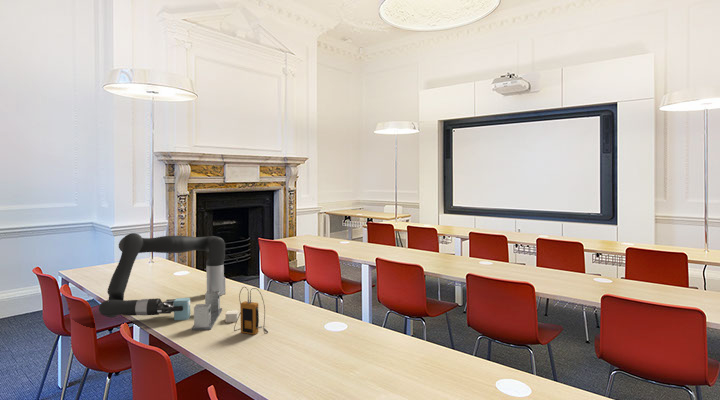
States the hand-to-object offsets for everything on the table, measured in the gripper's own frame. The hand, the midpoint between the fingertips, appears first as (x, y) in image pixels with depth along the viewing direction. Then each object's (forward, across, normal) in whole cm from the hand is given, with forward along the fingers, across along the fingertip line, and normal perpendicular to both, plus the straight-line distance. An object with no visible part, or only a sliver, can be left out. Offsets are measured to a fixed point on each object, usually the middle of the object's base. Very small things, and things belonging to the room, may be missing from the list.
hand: (185, 305), depth 185 cm
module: (-2, 0, +6) cm, 6 cm away
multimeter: (+34, -20, +6) cm, 40 cm away
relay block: (+22, -6, +6) cm, 24 cm away
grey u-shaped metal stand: (+11, -4, +6) cm, 13 cm away
